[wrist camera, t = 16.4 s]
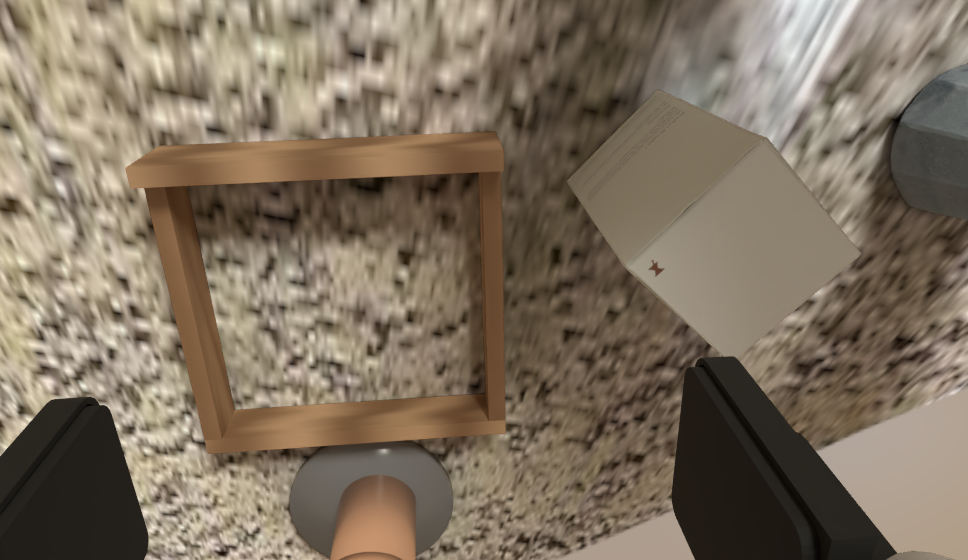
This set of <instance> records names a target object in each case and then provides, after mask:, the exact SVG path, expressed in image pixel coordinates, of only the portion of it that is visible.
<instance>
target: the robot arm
mask: <svg viewBox="0 0 968 560" xmlns="http://www.w3.org/2000/svg"><path fill="white" fill-rule="evenodd" d="M672 504H673V509H674V513H675V516H676V518H677V520H678V523H679V525H680V527H681V529H682V532H683V534H684V536H685V538H686V541H687V543H688V545H689V547H690V549H691V552H692V554H693V556H694V558H695V560H954V559H952V558H948V557H945V556H941V555H938V554H934V553H929V552H917V551H910V552H903V553H897V552H896V551H895V550H894V549H893V547H892V546H891V545H890V544H889V542H888V541H887V540H886V539H885V538H884V536H883V535H882V534H881V532H880V531H879V530H878V529H877V527H876V526H875V525H874V524H873V523H872V521H871V520H870V519H869V517H868V516H867V515H866V514H865V512H864V511H863V510H862V509H861V507H860V506H859V505H858V504H857V503H856V501H855V500H854V499H853V498H852V497H851V495H850V494H849V493H848V491H847V490H846V489H845V487H844V486H843V485H842V484H841V482H840V481H839V480H838V479H837V478H836V476H835V475H834V474H833V472H832V471H831V470H830V469H829V468H828V466H827V465H826V464H825V463H824V461H823V460H822V459H821V458H820V456H819V455H818V454H817V453H816V451H815V450H814V449H813V448H812V446H811V445H810V444H809V443H808V441H807V440H806V439H805V438H804V437H803V436H802V435H801V434H800V433H797V432H795V431H794V430H793V429H792V427H791V426H790V425H789V424H788V422H787V421H786V420H785V418H784V417H783V416H782V415H781V413H780V412H779V411H778V410H777V408H776V407H775V406H774V405H773V403H772V402H771V401H770V400H769V398H768V397H767V396H766V394H765V393H764V392H763V391H762V389H761V388H760V387H759V386H758V384H757V383H756V382H755V381H754V379H753V378H752V377H751V375H750V374H749V373H748V372H747V370H746V369H745V368H744V367H743V365H742V364H741V363H740V362H739V360H738V359H737V358H736V357H733V356H726V357H710V358H700V359H698V360H697V362H696V365H695V367H690V368H688V369H687V370H686V372H685V378H684V387H683V396H682V405H681V414H680V423H679V432H678V441H677V450H676V459H675V468H674V477H673V486H672ZM147 549H148V532H147V528H146V525H145V522H144V518H143V515H142V512H141V509H140V505H139V502H138V499H137V496H136V492H135V489H134V486H133V483H132V479H131V476H130V473H129V470H128V466H127V463H126V460H125V457H124V453H123V450H122V447H121V444H120V440H119V437H118V434H117V431H116V427H115V424H114V421H113V418H112V414H111V412H110V410H109V408H108V407H107V406H104V405H99V403H98V402H97V401H96V399H95V398H92V397H82V398H66V399H54V400H51V401H49V402H48V403H47V404H46V405H45V406H44V407H43V408H42V410H41V411H40V412H39V413H38V414H37V415H36V416H35V418H34V419H33V420H32V421H31V422H30V423H29V424H28V426H27V427H26V428H25V429H24V430H23V431H22V432H21V433H20V435H19V436H18V437H17V438H16V439H15V440H14V441H13V443H12V444H11V445H10V446H9V447H8V448H7V449H6V451H5V452H4V453H3V454H2V455H1V456H0V560H144V558H145V556H146V553H147Z"/></svg>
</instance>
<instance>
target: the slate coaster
mask: <svg viewBox="0 0 968 560" xmlns="http://www.w3.org/2000/svg"><path fill="white" fill-rule="evenodd" d="M371 475H385V476H390V477H394V478H396V479H399V480H401V481H402V482H404V483H405V484H406V485H408V486H409V487H410V489H411V490H412V491H413V493H414V495H415V498H416V556H417V555H419V554H420V553H422V552H424V551H425V550H427V549H428V548H429V547H431V546H432V545H433V544H434V543H435V542H436V541H437V540H438V539H439V538H440V536H441V535H442V534H443V533H444V531H445V529H446V527H447V526H448V524H449V521H450V518H451V514H452V509H453V495H452V486H451V482H450V479H449V476H448V474H447V472H446V470H445V468H444V467H443V466H442V464H441V463H440V461H439V460H438V459H437V458H436V457H435V456H434V455H433V454H431V453H430V452H429V451H428V450H426V449H425V448H423V447H422V446H420V445H418V444H416V443H414V442H412V441H410V440H403V441H388V442H374V443H359V444H345V445H330V446H323V447H321V448H320V449H318V450H317V451H315V452H314V453H313V454H312V455H311V456H309V457H308V459H307V460H306V461H305V462H304V463H303V464H302V466H301V467H300V469H299V471H298V472H297V475H296V477H295V479H294V483H293V486H292V490H291V494H290V504H289V505H290V513H291V517H292V521H293V523H294V525H295V527H296V529H297V531H298V532H299V534H300V535H301V536H302V538H303V539H304V540H305V541H306V542H307V543H308V544H309V545H310V546H312V547H313V548H314V549H315V550H317V551H318V552H320V553H321V554H323V555H325V556H327V557H329V558H331V552H332V545H333V539H334V533H335V527H336V521H337V515H338V509H339V503H340V498H341V495H342V493H343V492H344V490H345V489H346V488H347V487H348V486H349V485H350V484H351V483H353V482H354V481H356V480H358V479H360V478H363V477H366V476H371Z"/></svg>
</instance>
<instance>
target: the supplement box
mask: <svg viewBox="0 0 968 560" xmlns="http://www.w3.org/2000/svg"><path fill="white" fill-rule="evenodd" d="M567 184H568V185H569V187H570V188H571V190H572V191H573V193H574V194H575V195H576V197H577V198H578V200H579V201H580V203H581V204H582V206H583V207H584V209H585V210H586V212H587V213H588V214H589V216H590V217H591V219H592V220H593V222H594V223H595V225H596V226H597V228H598V229H599V231H600V232H601V234H602V235H603V236H604V238H605V239H606V241H607V242H608V244H609V245H610V247H611V248H612V250H613V251H614V253H615V254H616V255H617V257H618V258H619V260H620V262H621V263H622V265H623V266H624V267H625V268H626V269H627V270H628V271H629V272H630V273H631V274H632V275H633V276H634V277H635V278H637V279H638V280H639V281H640V282H641V283H642V284H643V285H644V286H645V287H646V288H647V289H649V290H650V291H651V292H652V293H653V294H654V295H655V296H656V297H657V298H658V299H659V300H661V301H662V302H663V303H664V304H665V305H666V306H667V307H668V308H669V309H671V310H672V311H673V312H674V313H675V314H676V315H677V316H678V317H679V318H681V319H682V320H683V321H684V322H685V323H686V324H687V325H688V326H690V327H691V328H692V329H693V330H694V331H695V332H696V333H697V334H699V335H700V336H701V337H702V338H703V339H704V340H705V341H706V342H708V343H709V344H710V345H711V346H712V347H713V348H714V349H715V350H716V351H718V352H719V353H720V354H721V355H722V356H723V357H726V356H733V357H736V358H737V359H738V358H739V357H740V356H741V355H742V354H743V353H745V352H746V351H747V350H748V349H749V348H750V347H752V346H753V345H754V344H755V343H756V342H758V341H759V340H760V339H761V338H762V337H763V336H765V335H766V334H767V333H768V332H769V331H770V330H772V329H773V328H774V327H775V326H776V325H778V324H779V323H780V322H781V321H782V320H784V319H785V318H786V317H787V316H788V315H790V314H791V313H792V312H793V311H794V310H796V309H797V308H798V307H799V306H800V305H802V304H803V303H804V302H805V301H806V300H808V299H809V298H810V297H811V296H812V295H813V294H815V293H816V292H817V291H818V290H819V289H821V288H822V287H823V286H824V285H825V284H827V283H828V282H829V281H830V280H831V279H833V278H834V277H835V276H836V275H838V274H839V273H840V272H841V271H842V270H843V269H845V268H846V267H847V266H848V265H849V264H851V263H852V262H853V261H854V260H856V259H857V258H858V257H859V256H860V255H861V252H860V251H859V250H858V249H857V248H856V247H855V246H854V244H853V243H852V242H851V241H850V240H849V239H848V237H847V236H846V235H845V234H844V232H843V231H842V230H841V229H840V228H839V226H838V225H837V224H836V223H835V221H834V220H833V219H832V218H831V217H830V215H829V214H828V213H827V212H826V210H825V209H824V208H823V207H822V205H821V204H820V203H819V202H818V200H817V199H816V198H815V197H814V195H813V194H812V193H811V192H810V190H809V189H808V188H807V187H806V185H805V184H804V183H803V182H802V180H801V179H800V178H799V177H798V175H797V174H796V173H795V172H794V170H793V169H792V168H791V167H790V165H789V164H788V163H787V162H786V160H785V159H784V158H783V157H782V156H781V154H780V153H779V152H778V151H777V149H776V148H775V147H774V146H773V144H772V143H771V142H770V141H769V139H768V138H767V137H764V136H761V135H758V134H755V133H752V132H750V131H748V130H746V129H743V128H741V127H739V126H737V125H734V124H732V123H730V122H728V121H726V120H724V119H722V118H720V117H718V116H716V115H713V114H711V113H709V112H707V111H705V110H703V109H701V108H699V107H697V106H695V105H692V104H690V103H688V102H686V101H684V100H682V99H679V98H677V97H674V96H672V95H670V94H668V93H665V92H663V91H661V90H657V91H656V92H655V93H654V94H653V95H652V96H651V97H650V98H649V99H648V100H647V101H646V102H645V103H644V104H643V105H642V106H641V107H640V108H639V109H638V110H637V111H636V112H635V113H634V114H633V115H632V116H631V117H630V118H629V119H628V120H627V121H626V122H625V123H624V124H623V125H622V126H621V127H620V128H619V129H618V130H617V131H616V132H615V133H614V134H613V135H612V136H611V137H610V138H609V139H608V140H607V141H606V142H605V143H604V144H603V145H602V146H601V147H600V148H599V149H598V150H597V151H596V152H595V153H594V154H593V155H592V156H591V157H590V158H589V159H588V160H587V161H586V162H585V163H584V164H583V165H582V166H581V167H580V168H579V169H578V170H577V171H576V172H575V173H574V174H573V175H572V176H571V177H570V178H569V179H568V180H567Z"/></svg>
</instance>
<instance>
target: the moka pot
mask: <svg viewBox="0 0 968 560" xmlns="http://www.w3.org/2000/svg"><path fill="white" fill-rule="evenodd" d="M891 171H892V177H893V181H894V182H895V184H896V186H897V188H898V190H899V192H900V194H901V195H902V197H903V199H904V200H905V203H906V205H908V206H910V207H914V208H916V209H920V210H924V211H927V212H931V213H936V214H940V215H945V216H949V217H954V218H958V219H963V220H968V63H967V64H965V65H962V66H959V67H956V68H954V69H951V70H949V71H947V72H945V73H943V74H941V75H939V76H937V77H936V78H935V79H934V80H933V81H931V82H930V83H929V84H928V85H927V86H925V87H924V89H923V90H922V91H921V92H920V93H919V94H918V95H917V96H916V98H915V99H914V101H913V102H912V103H911V105H910V106H909V107H908V108H907V109H906V110H905V112H904V113H903V115H902V117H901V119H900V122H899V124H898V126H897V129H896V132H895V134H894V137H893V141H892V148H891Z"/></svg>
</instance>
